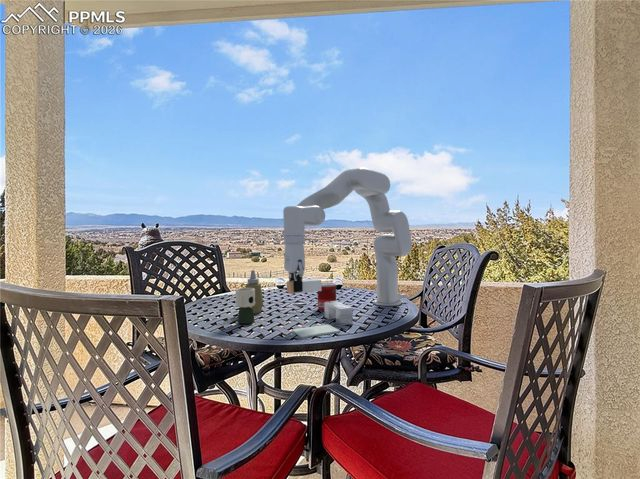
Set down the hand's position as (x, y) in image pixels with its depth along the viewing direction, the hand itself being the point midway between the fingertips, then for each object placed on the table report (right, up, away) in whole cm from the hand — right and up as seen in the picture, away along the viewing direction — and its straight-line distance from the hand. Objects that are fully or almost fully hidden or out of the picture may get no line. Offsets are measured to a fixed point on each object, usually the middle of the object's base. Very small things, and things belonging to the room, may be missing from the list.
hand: (295, 290), depth 140 cm
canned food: (+12, -12, +28) cm, 32 cm away
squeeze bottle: (-19, -13, +24) cm, 33 cm away
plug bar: (+3, -1, +1) cm, 3 cm away
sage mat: (+7, -13, -7) cm, 17 cm away
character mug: (-19, -13, +6) cm, 24 cm away
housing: (+16, -12, +7) cm, 21 cm away
